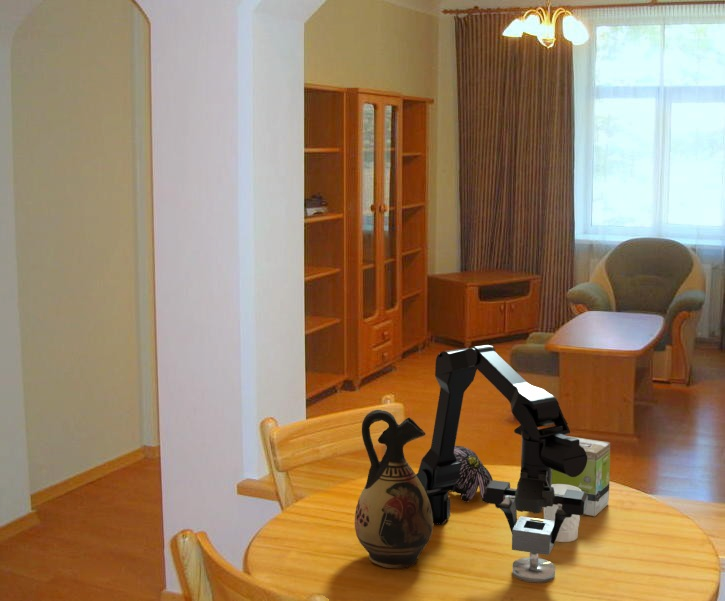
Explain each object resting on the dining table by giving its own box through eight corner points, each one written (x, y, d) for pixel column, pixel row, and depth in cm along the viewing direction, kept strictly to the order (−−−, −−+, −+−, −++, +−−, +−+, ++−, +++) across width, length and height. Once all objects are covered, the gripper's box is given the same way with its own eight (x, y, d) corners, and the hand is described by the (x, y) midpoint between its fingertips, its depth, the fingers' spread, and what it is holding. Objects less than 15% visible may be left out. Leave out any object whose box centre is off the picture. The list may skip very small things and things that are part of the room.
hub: (508, 579, 184) (509, 546, 183) (517, 562, 191) (517, 530, 190) (551, 585, 181) (552, 552, 180) (558, 568, 189) (559, 536, 188)
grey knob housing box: (511, 549, 183) (512, 528, 183) (519, 535, 190) (519, 515, 189) (549, 555, 181) (549, 533, 180) (555, 540, 188) (556, 520, 187)
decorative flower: (460, 469, 217) (435, 432, 229) (440, 512, 220) (416, 473, 233) (514, 478, 223) (487, 441, 235) (493, 519, 226) (467, 481, 239)
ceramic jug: (430, 543, 201) (432, 401, 196) (434, 576, 185) (436, 423, 181) (348, 542, 201) (347, 401, 196) (344, 575, 186) (344, 422, 181)
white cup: (580, 545, 200) (582, 498, 198) (541, 542, 201) (542, 495, 200) (580, 530, 207) (581, 485, 206) (542, 527, 209) (543, 482, 207)
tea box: (609, 504, 222) (612, 441, 220) (594, 518, 214) (597, 453, 212) (547, 491, 230) (549, 431, 228) (530, 505, 222) (532, 442, 220)
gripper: (477, 468, 179) (475, 549, 181) (581, 481, 172) (577, 564, 175) (491, 450, 189) (489, 527, 191) (589, 462, 182) (586, 541, 185)
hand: (534, 540), depth 185 cm, fingers closed on grey knob housing box, 7 cm apart
